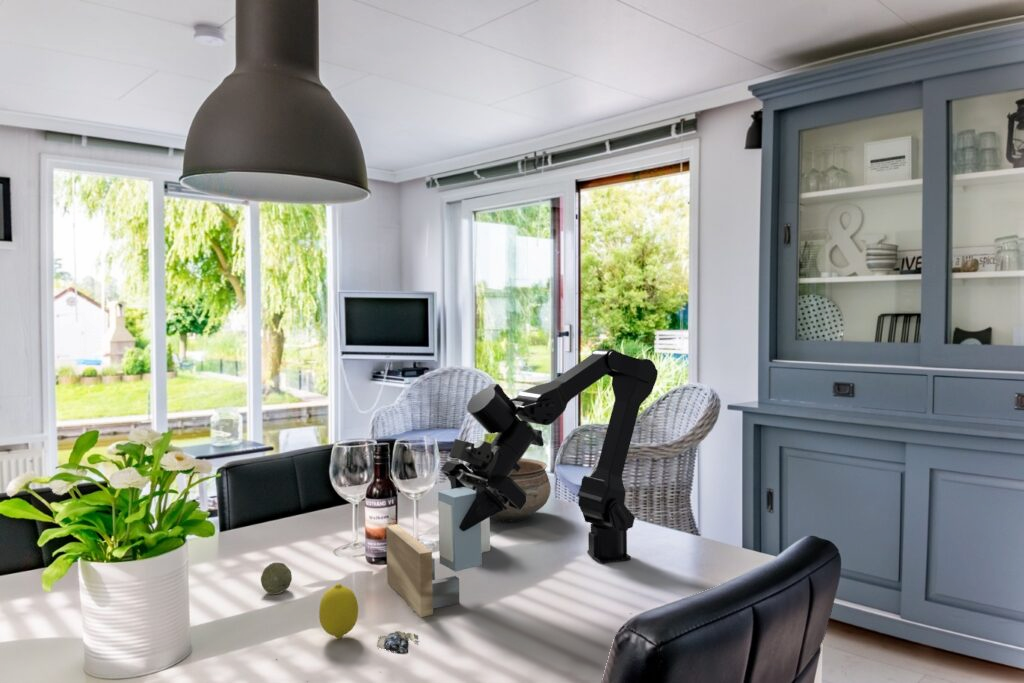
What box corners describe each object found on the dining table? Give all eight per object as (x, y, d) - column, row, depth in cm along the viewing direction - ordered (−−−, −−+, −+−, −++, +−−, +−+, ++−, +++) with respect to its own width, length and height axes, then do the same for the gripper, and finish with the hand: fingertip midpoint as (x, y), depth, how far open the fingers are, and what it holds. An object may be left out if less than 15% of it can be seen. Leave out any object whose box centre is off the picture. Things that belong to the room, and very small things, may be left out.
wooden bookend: (427, 574, 130) (426, 519, 130) (465, 607, 115) (464, 546, 114) (387, 581, 126) (386, 525, 126) (420, 617, 111) (419, 553, 111)
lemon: (323, 631, 107) (322, 578, 107) (360, 629, 107) (359, 576, 107) (316, 648, 101) (315, 592, 101) (356, 646, 102) (354, 590, 102)
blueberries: (410, 632, 107) (410, 619, 107) (435, 653, 100) (434, 640, 100) (367, 644, 104) (367, 631, 103) (390, 667, 97) (389, 653, 97)
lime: (295, 591, 123) (295, 562, 123) (269, 599, 119) (268, 569, 119) (283, 584, 126) (282, 556, 126) (257, 592, 123) (256, 563, 122)
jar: (461, 558, 138) (460, 496, 138) (441, 547, 145) (440, 488, 145) (500, 549, 143) (499, 490, 143) (479, 539, 150) (478, 482, 150)
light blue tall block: (465, 556, 122) (463, 486, 121) (481, 564, 118) (480, 492, 117) (438, 563, 118) (436, 491, 118) (454, 572, 114) (452, 497, 114)
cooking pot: (452, 509, 173) (452, 459, 173) (523, 500, 181) (522, 452, 181) (494, 538, 150) (493, 480, 150) (572, 526, 158) (572, 471, 158)
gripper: (449, 415, 127) (394, 486, 121) (510, 427, 112) (451, 509, 106) (486, 453, 132) (435, 523, 126) (550, 470, 117) (496, 551, 111)
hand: (452, 525), depth 117 cm, fingers closed on light blue tall block, 5 cm apart
